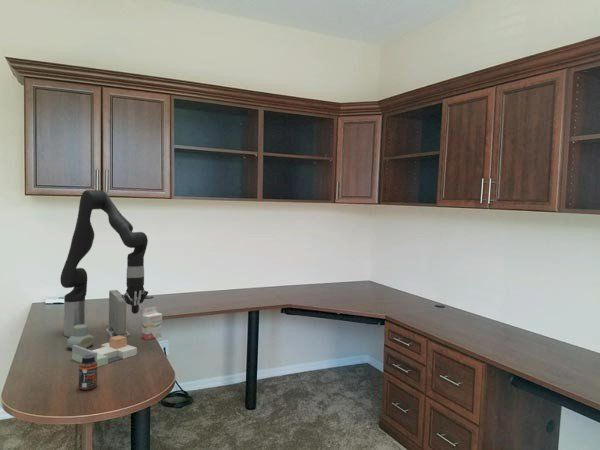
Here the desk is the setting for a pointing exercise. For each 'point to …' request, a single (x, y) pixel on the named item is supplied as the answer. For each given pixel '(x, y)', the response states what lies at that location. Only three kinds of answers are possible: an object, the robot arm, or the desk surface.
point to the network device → (117, 314)
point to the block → (118, 342)
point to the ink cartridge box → (151, 324)
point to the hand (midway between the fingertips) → (135, 313)
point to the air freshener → (80, 337)
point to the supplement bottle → (88, 373)
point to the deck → (103, 353)
